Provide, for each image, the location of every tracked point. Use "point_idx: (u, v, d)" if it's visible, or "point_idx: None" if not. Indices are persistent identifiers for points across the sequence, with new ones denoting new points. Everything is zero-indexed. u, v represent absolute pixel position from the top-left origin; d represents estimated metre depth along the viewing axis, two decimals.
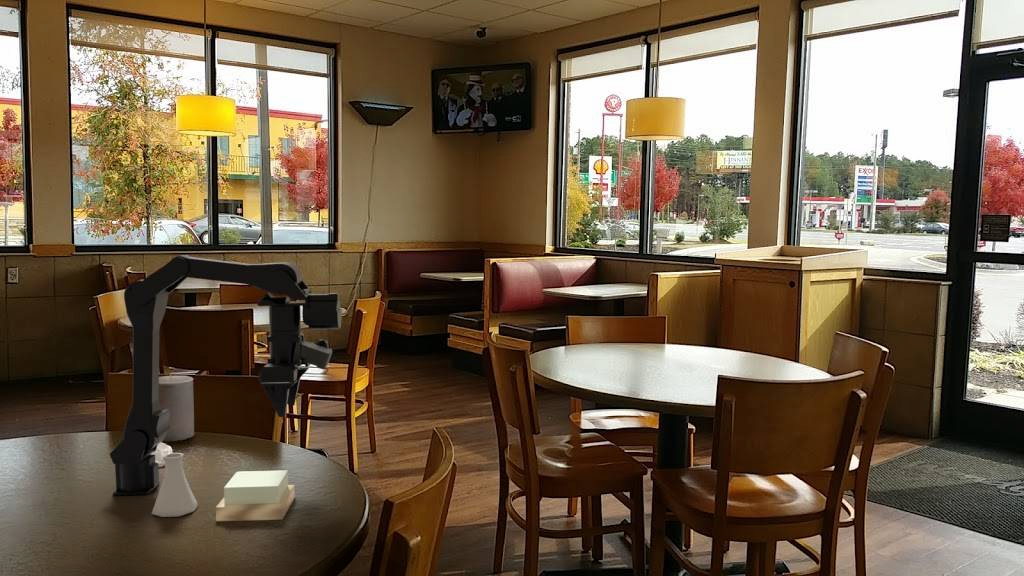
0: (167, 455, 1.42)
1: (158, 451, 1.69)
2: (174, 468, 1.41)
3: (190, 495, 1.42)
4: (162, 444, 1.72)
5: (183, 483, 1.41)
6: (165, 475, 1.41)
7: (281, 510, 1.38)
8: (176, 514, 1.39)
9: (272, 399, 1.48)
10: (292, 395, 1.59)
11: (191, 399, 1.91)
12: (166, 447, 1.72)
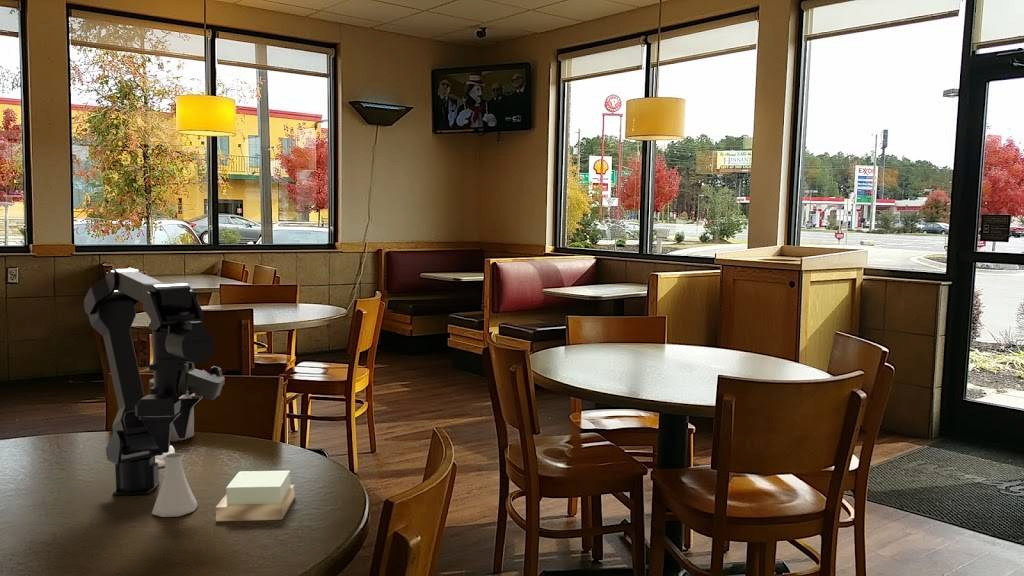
0: (167, 455, 1.42)
1: None
2: (174, 468, 1.41)
3: (190, 495, 1.42)
4: None
5: (183, 483, 1.41)
6: (165, 475, 1.41)
7: (281, 510, 1.38)
8: (176, 514, 1.39)
9: (153, 434, 1.35)
10: (183, 427, 1.46)
11: None
12: None
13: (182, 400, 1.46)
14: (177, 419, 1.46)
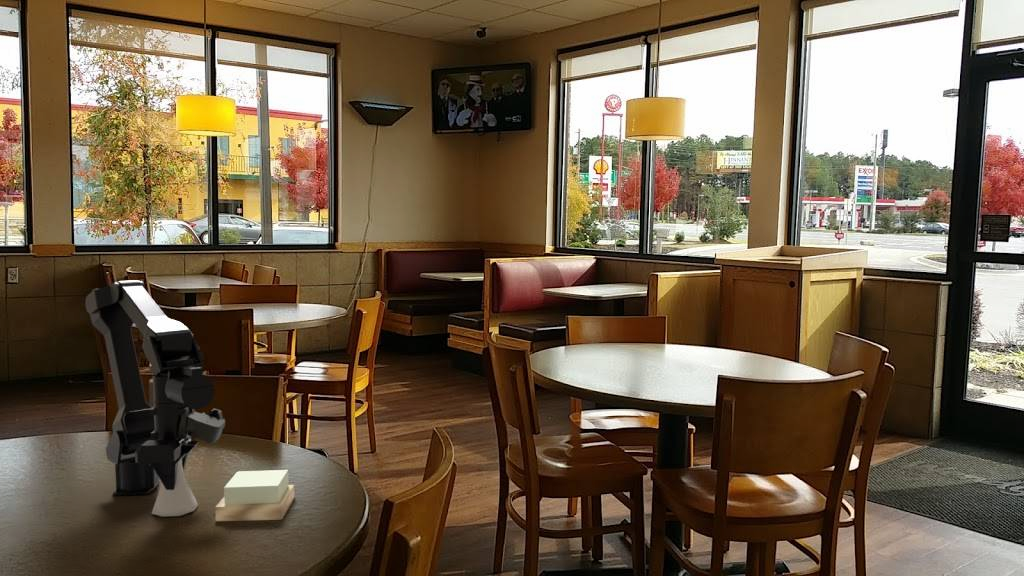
0: None
1: None
2: None
3: (190, 495, 1.42)
4: None
5: (183, 483, 1.41)
6: None
7: (281, 510, 1.38)
8: (176, 514, 1.39)
9: (159, 473, 1.39)
10: None
11: None
12: None
13: None
14: None
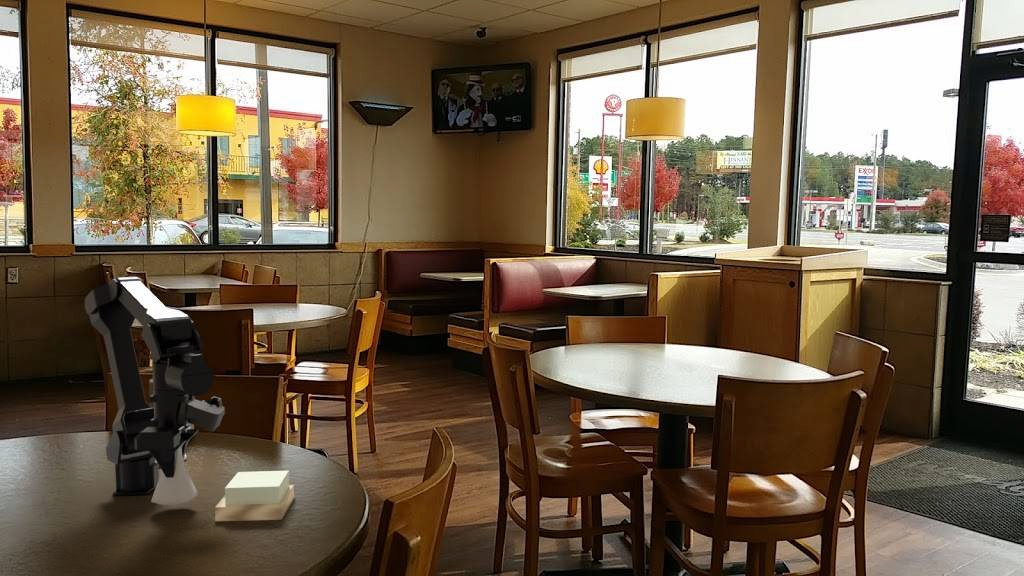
0: None
1: None
2: None
3: (189, 484, 1.42)
4: None
5: (182, 471, 1.41)
6: None
7: (280, 510, 1.38)
8: (175, 502, 1.39)
9: (159, 461, 1.39)
10: None
11: None
12: None
13: None
14: None
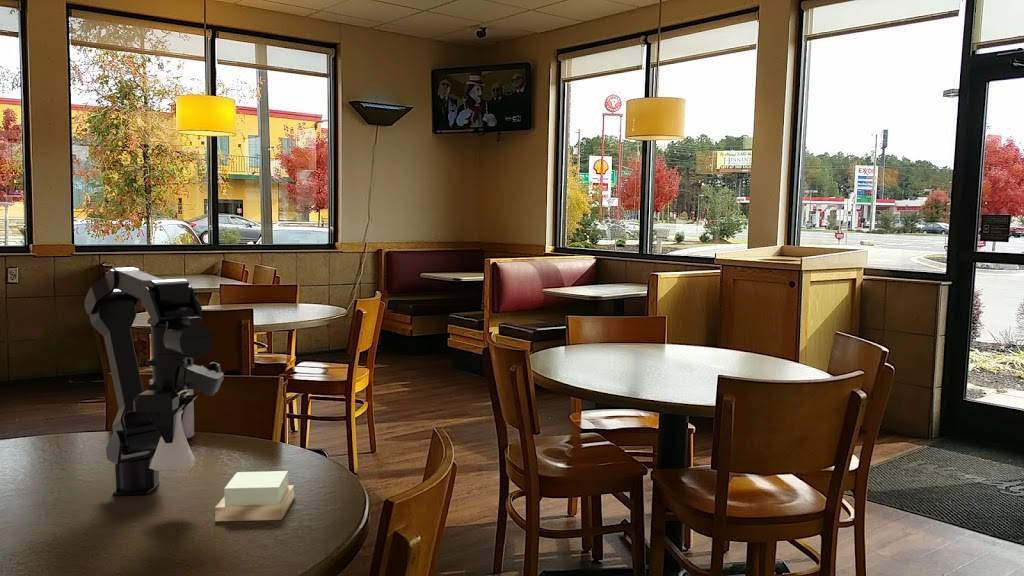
0: None
1: None
2: None
3: (188, 452, 1.42)
4: None
5: (181, 439, 1.41)
6: None
7: (280, 510, 1.38)
8: (173, 469, 1.39)
9: (157, 425, 1.38)
10: None
11: None
12: None
13: None
14: None
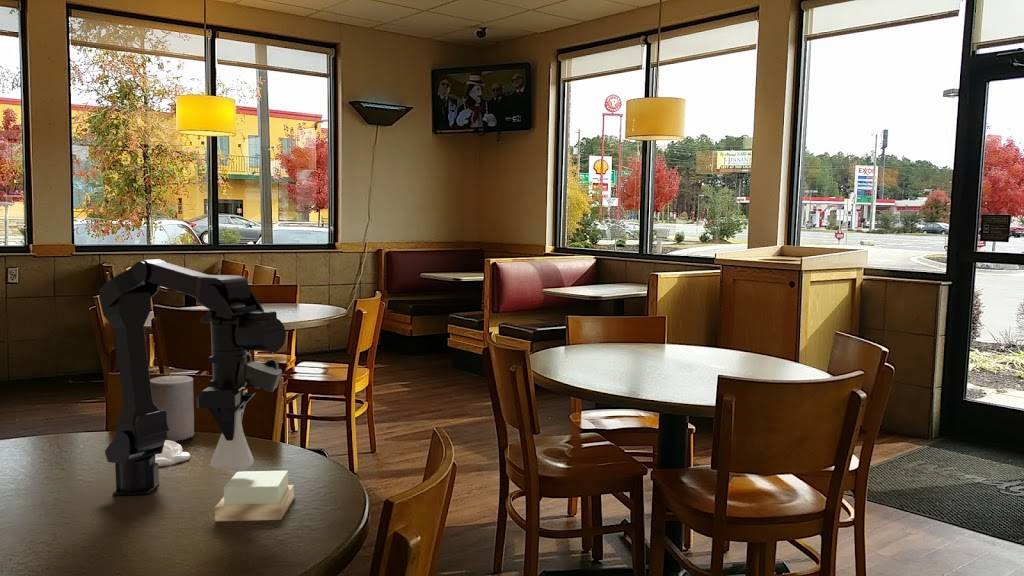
0: None
1: (168, 449, 1.71)
2: None
3: (247, 451, 1.42)
4: (172, 442, 1.74)
5: (241, 438, 1.41)
6: None
7: (280, 510, 1.38)
8: (233, 468, 1.39)
9: (218, 422, 1.39)
10: None
11: (191, 399, 1.91)
12: (176, 445, 1.74)
13: None
14: None
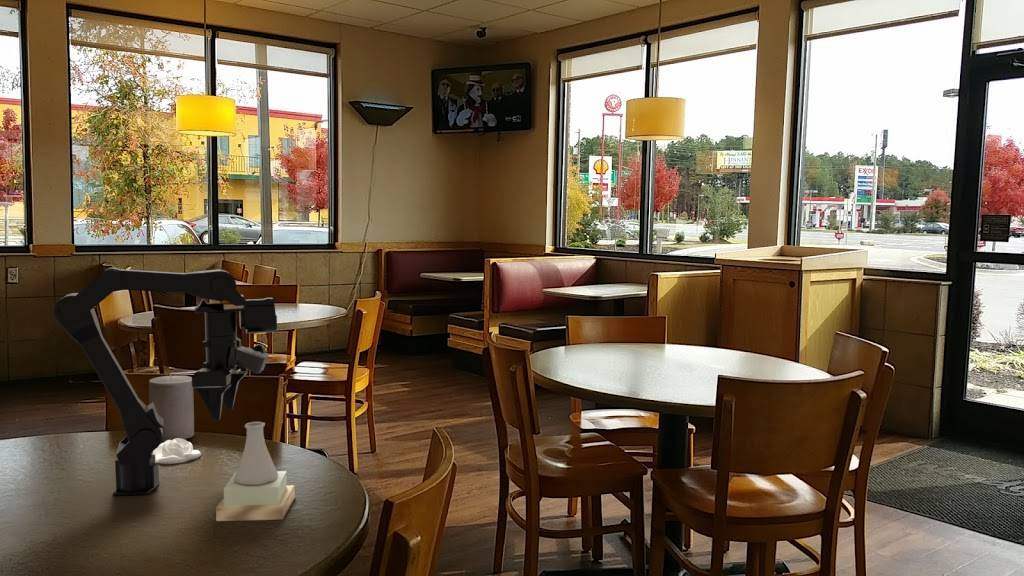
0: (249, 423, 1.42)
1: (179, 447, 1.72)
2: (254, 436, 1.41)
3: (270, 465, 1.42)
4: (183, 440, 1.75)
5: (263, 452, 1.41)
6: (246, 443, 1.41)
7: (281, 510, 1.38)
8: (256, 482, 1.39)
9: (206, 403, 1.52)
10: (230, 399, 1.63)
11: (191, 399, 1.91)
12: (187, 443, 1.75)
13: None
14: (225, 392, 1.63)
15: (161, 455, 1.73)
